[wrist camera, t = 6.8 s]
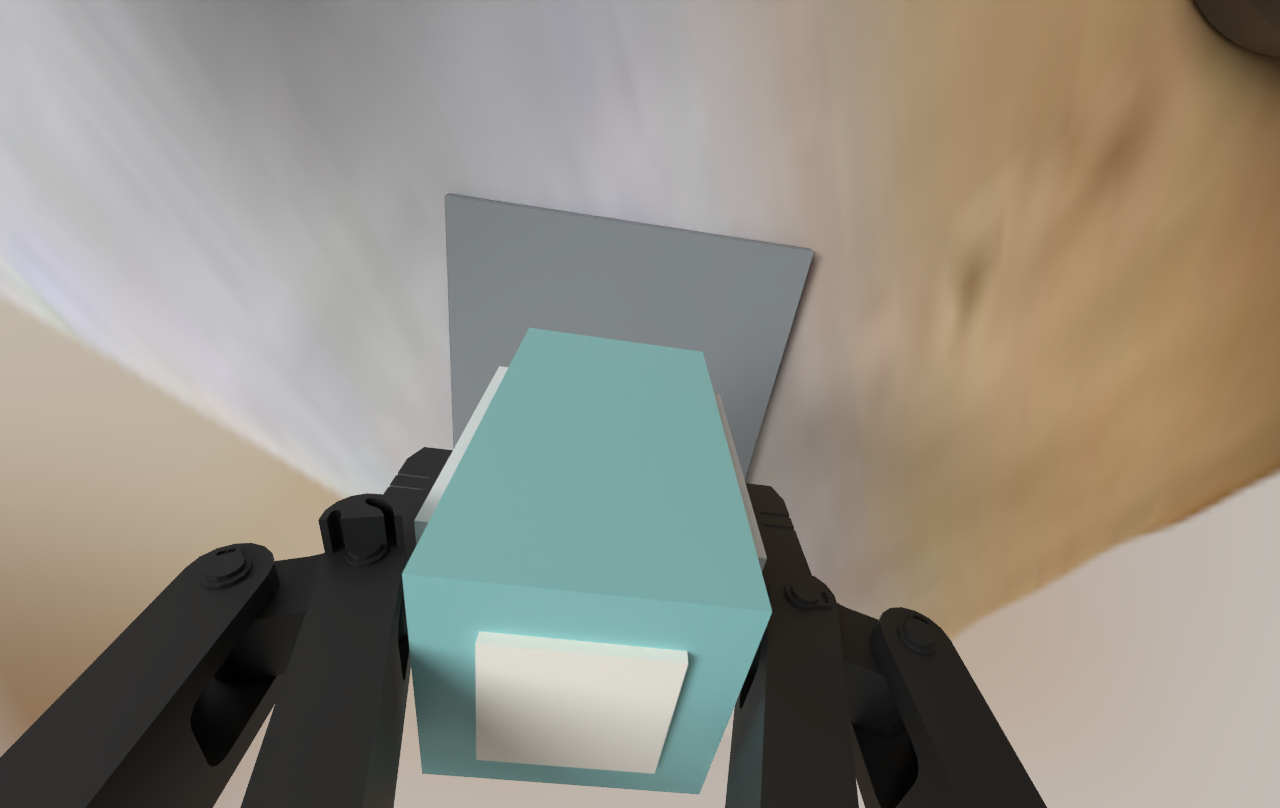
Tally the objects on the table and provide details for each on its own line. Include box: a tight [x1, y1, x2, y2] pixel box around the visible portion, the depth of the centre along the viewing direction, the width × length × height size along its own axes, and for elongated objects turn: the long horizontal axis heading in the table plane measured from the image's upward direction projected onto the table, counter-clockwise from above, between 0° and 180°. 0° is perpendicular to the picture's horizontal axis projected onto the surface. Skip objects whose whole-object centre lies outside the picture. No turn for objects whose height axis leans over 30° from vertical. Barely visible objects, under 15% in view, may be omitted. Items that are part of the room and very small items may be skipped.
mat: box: [445, 194, 814, 480], centre depth 26 cm, size 16×16×1 cm
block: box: [402, 328, 772, 794], centre depth 12 cm, size 5×5×9 cm
